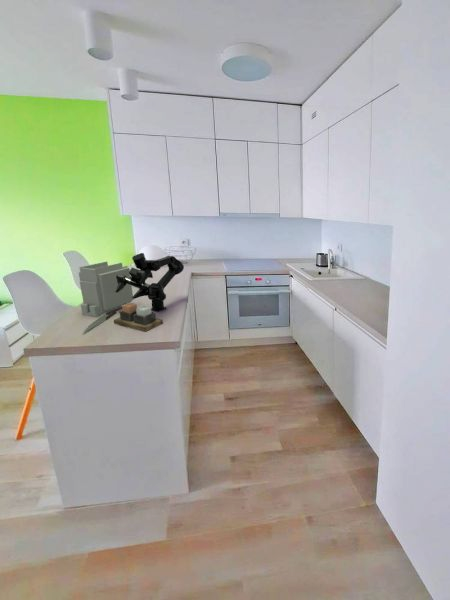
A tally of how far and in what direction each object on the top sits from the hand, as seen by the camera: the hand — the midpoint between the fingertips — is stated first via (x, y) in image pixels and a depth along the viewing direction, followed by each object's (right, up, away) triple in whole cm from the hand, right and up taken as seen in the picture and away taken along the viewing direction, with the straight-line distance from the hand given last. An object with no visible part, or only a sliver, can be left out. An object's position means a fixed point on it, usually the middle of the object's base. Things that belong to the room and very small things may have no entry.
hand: (124, 295), depth 139 cm
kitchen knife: (-15, -15, +8) cm, 23 cm away
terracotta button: (0, -9, +8) cm, 12 cm away
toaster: (-20, -7, +32) cm, 38 cm away
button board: (+5, -14, +7) cm, 16 cm away
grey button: (+9, -10, +3) cm, 14 cm away
